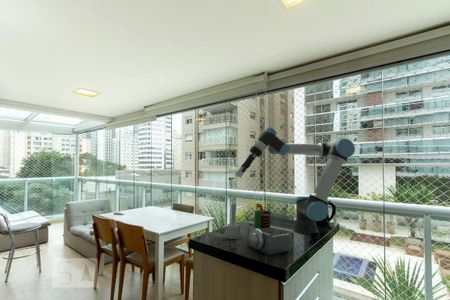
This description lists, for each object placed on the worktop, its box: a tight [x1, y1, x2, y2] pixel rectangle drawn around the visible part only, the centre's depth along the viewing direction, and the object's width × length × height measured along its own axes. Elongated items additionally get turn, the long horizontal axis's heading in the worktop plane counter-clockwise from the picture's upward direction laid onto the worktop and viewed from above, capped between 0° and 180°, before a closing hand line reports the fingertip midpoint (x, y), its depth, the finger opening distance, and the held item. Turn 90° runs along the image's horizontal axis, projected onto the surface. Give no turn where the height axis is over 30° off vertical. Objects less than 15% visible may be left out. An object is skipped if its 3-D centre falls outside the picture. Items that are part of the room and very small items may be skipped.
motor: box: [253, 203, 272, 229], centre depth 138 cm, size 10×9×20 cm
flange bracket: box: [247, 227, 291, 256], centre depth 121 cm, size 18×16×10 cm
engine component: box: [224, 201, 242, 240], centre depth 142 cm, size 11×20×10 cm
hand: (237, 176), depth 144 cm, fingers open, 13 cm apart
